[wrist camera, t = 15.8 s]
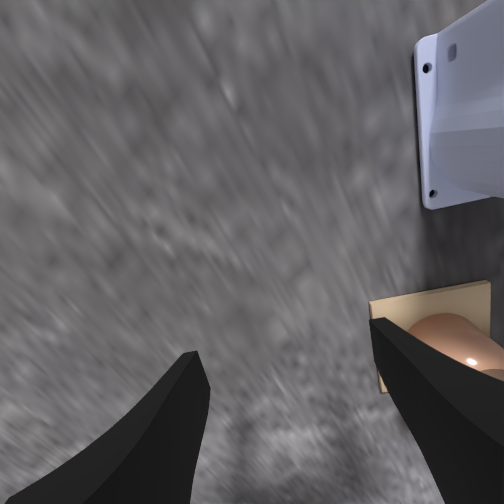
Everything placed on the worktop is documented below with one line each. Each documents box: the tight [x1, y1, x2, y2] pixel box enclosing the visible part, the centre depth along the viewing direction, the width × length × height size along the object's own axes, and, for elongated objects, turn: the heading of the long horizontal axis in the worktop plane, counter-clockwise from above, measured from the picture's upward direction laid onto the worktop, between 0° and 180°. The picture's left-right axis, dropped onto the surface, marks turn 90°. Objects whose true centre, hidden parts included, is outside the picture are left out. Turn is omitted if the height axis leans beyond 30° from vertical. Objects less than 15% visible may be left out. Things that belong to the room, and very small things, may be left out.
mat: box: [369, 280, 491, 392], centre depth 22 cm, size 8×8×1 cm
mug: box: [407, 313, 504, 381], centre depth 20 cm, size 9×6×5 cm, turn 13°
